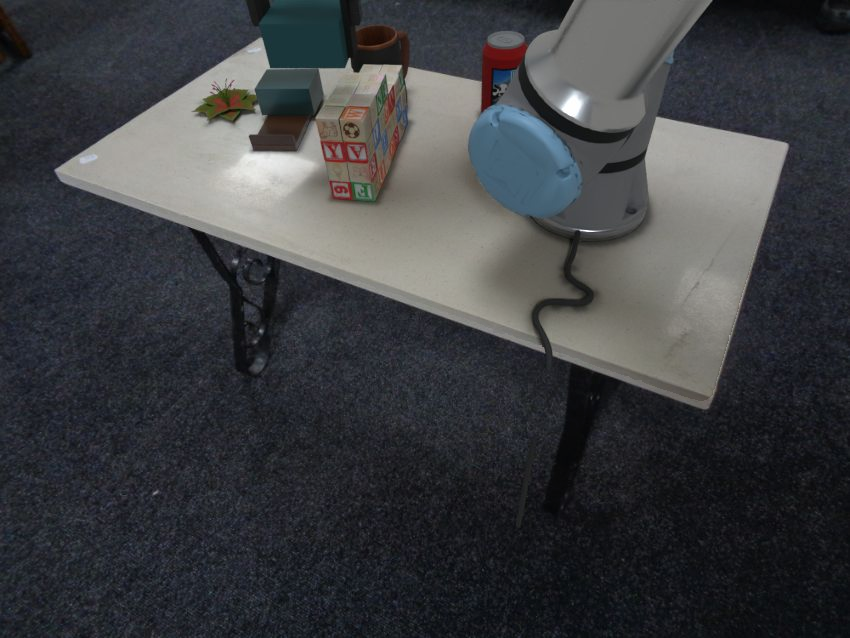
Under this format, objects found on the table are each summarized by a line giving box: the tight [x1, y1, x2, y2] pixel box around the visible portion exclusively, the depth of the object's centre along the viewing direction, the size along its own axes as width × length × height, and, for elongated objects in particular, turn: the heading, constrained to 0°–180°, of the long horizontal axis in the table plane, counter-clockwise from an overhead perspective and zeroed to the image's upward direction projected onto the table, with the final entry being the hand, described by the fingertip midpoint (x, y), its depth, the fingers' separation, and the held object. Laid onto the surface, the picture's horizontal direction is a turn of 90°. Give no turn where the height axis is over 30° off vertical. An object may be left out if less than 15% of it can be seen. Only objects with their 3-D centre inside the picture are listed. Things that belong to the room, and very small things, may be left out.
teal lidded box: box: [248, 68, 325, 152], centre depth 90 cm, size 17×9×6 cm, turn 174°
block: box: [259, 0, 350, 69], centre depth 65 cm, size 7×9×5 cm
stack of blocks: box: [315, 64, 409, 202], centre depth 79 cm, size 21×6×12 cm, turn 169°
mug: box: [349, 24, 411, 105], centre depth 90 cm, size 9×12×12 cm
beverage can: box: [480, 30, 529, 113], centre depth 85 cm, size 7×7×12 cm
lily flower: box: [191, 78, 258, 122], centre depth 95 cm, size 12×12×5 cm
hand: (313, 53), depth 67 cm, fingers closed on block, 9 cm apart
